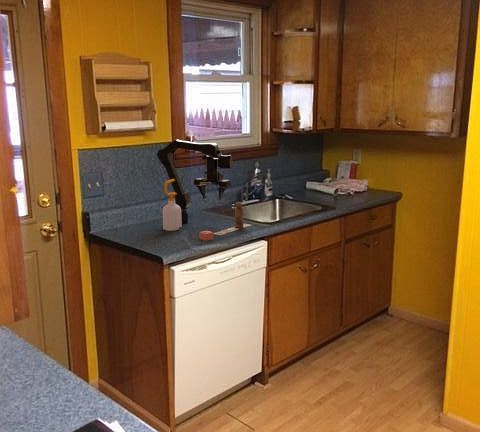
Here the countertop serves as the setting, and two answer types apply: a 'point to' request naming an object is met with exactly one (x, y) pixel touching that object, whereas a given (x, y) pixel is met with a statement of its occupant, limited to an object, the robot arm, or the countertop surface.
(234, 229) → the track board
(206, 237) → the red cube
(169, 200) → the soap bottle
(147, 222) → the countertop surface
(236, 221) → the pawn
